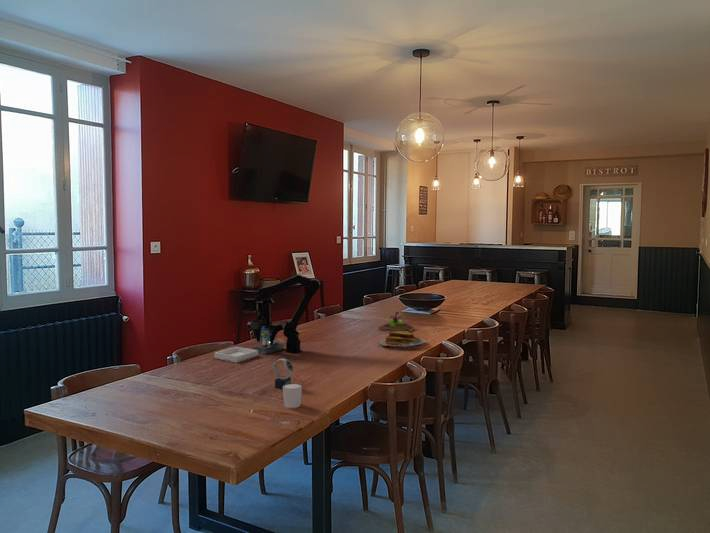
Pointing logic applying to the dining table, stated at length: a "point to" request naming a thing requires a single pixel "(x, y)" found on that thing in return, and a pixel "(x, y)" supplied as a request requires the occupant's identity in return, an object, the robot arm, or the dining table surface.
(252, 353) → the tray
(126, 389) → the dining table surface
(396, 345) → the food on plate
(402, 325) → the plant
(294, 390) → the shot glass
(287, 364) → the watch
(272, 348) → the block
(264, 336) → the pin
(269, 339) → the gear
